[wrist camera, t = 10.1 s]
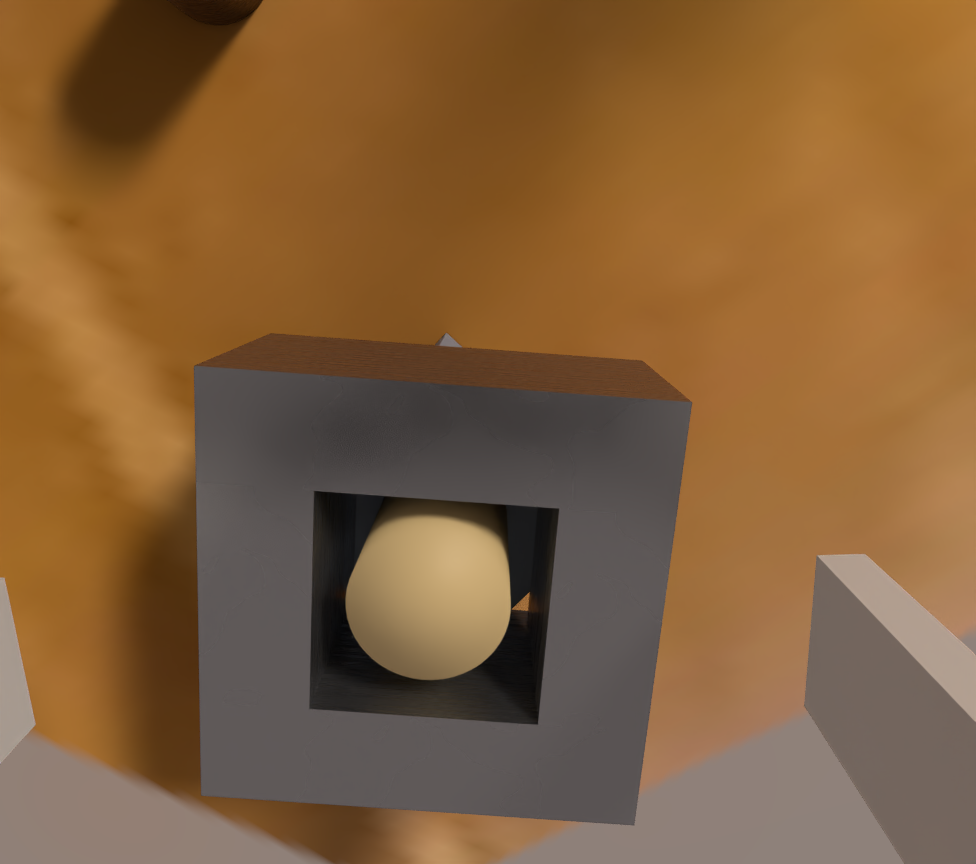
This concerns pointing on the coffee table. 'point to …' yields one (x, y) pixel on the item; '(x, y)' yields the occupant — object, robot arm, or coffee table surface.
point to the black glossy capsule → (217, 10)
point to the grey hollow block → (439, 476)
